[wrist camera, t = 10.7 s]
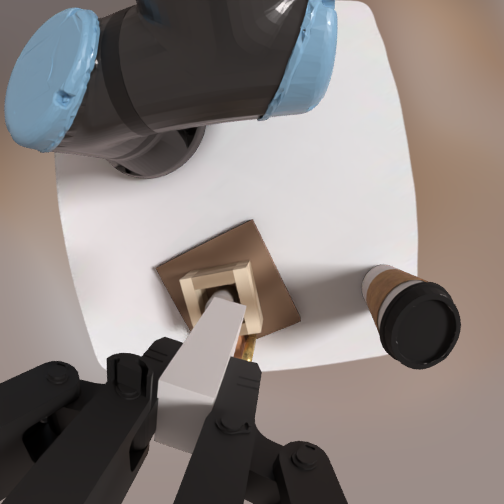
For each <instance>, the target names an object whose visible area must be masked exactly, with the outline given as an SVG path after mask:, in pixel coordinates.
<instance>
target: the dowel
mask: <svg viewBox="0 0 504 504" xmlns="http://www.w3.org/2000/svg"><path fill="white" fill-rule="evenodd" d="M256 338H257V335H256V334H248V337H247V340H246V344H245V348H244V351H243V355H242V359H243V360H247V361H250V362H252V357H253V352H254V348H255V343H256Z"/></svg>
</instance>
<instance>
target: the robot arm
mask: <svg viewBox="0 0 504 504" xmlns="http://www.w3.org/2000/svg"><path fill="white" fill-rule="evenodd" d="M136 3H137V4H136V5H134V6H131V7H128V8H126V9H123V10H120V11H118V12H115V13H113V14H110V15H108V16H106V17H103V18H98V17H97V15H96V14H95V13H93V11H91V10H82V9H80V8H69V9H66V10H64V11H61V12H59V13H57V14H56V15H54V16H53V17H51V18H50V19H49V20H47V21H46V22H45V23H44V24H43V25H42V26H41V27H40V28H39V29H38V30H37V31H36V32H35V34H34V35H33V36H32V37H31V38H30V40H29V41H28V43H27V44H26V46H25V47H24V49H23V51H22V52H21V54H20V56H19V58H18V60H17V62H16V64H15V66H14V68H13V71H12V73H11V77H10V79H9V83H8V87H7V91H6V97H5V122H6V126H7V129H8V131H9V132H10V134H11V136H12V138H13V140H14V141H15V142H16V143H17V144H19V145H21V146H23V147H27V148H32V149H36V150H38V151H40V152H42V153H44V152H59V153H68V154H76V155H84V156H92V157H99V158H105V159H106V160H107V161H108V162H109V163H110V164H112V165H113V166H114V167H115V168H116V169H117V170H119V171H120V172H122V173H124V174H127V175H129V176H133V177H140V178H156V177H161V176H164V175H167V174H169V173H171V172H173V171H175V170H176V169H178V168H179V167H181V166H182V165H183V164H184V163H186V162H187V161H188V160H189V159H190V157H191V156H192V155H193V154H194V152H195V151H196V150H197V148H198V146H199V144H200V142H201V140H202V138H203V135H204V132H205V127H206V125H211V124H218V123H226V122H234V121H242V120H252V119H257V120H258V121H264V120H267V119H268V118H269V117H276V116H285V115H295V114H303V113H306V112H308V111H310V110H312V109H313V108H314V107H315V106H317V105H318V104H319V102H320V101H321V99H322V98H323V97H324V95H325V93H326V91H327V88H328V85H329V82H330V79H331V75H332V71H333V66H334V61H335V54H336V44H337V13H336V11H335V10H334V8H335V0H136ZM245 310H246V305H242V304H238V303H235V302H231V301H227V300H224V299H220V298H217V297H214V298H213V300H212V301H211V303H210V304H209V306H208V307H207V309H206V310H205V312H204V313H203V315H202V316H201V318H200V319H199V321H198V322H197V324H196V325H195V327H194V328H193V329H192V331H191V332H190V334H189V335H188V337H187V338H186V340H185V341H184V343H182V342H179V341H176V340H173V339H170V338H167V337H163V338H161V339H159V340H156V341H154V343H153V344H152V345H151V346H150V347H149V348H148V350H147V351H146V352H145V353H144V354H143V356H139V355H135V354H131V353H119V354H114V355H112V356H110V357H108V358H107V382H106V384H98V383H93V382H88V381H84V380H80V379H79V375H78V372H77V370H76V369H75V368H74V367H73V366H71V365H70V364H68V363H64V362H61V361H51V362H48V363H44V364H42V365H40V366H37V367H35V368H33V369H31V370H29V371H27V372H24V373H22V374H20V375H18V376H16V377H13V378H11V379H9V380H7V381H5V382H3V383H0V501H1V500H2V499H4V498H5V500H4V501H3V502H2V503H1V504H121V503H122V501H123V499H124V498H125V496H126V494H127V492H128V490H129V488H130V486H131V484H132V483H133V481H134V479H135V477H136V475H137V473H138V471H139V469H140V467H141V465H142V464H143V461H144V460H145V458H146V456H147V454H148V451H149V442H150V440H151V438H152V436H153V434H154V433H155V437H154V441H156V442H159V443H162V444H165V445H167V446H170V447H173V448H176V449H179V450H182V451H185V452H188V453H191V454H192V456H191V459H190V461H189V464H188V467H187V469H186V472H185V474H184V477H183V480H182V482H181V485H180V488H179V490H178V493H177V495H176V498H175V500H174V503H173V504H243V503H244V499H245V500H247V501H249V502H251V503H253V504H348V503H347V500H346V498H345V496H344V494H343V491H342V489H341V486H340V484H339V482H338V479H337V477H336V474H335V472H334V470H333V467H332V465H331V463H330V460H329V458H328V456H327V455H326V453H325V452H324V451H323V450H322V449H321V448H319V447H318V446H317V445H314V444H311V443H309V442H303V441H295V442H290V443H288V444H287V445H285V446H282V445H280V444H277V443H275V442H273V441H271V440H269V439H267V438H266V437H264V436H263V435H262V434H261V433H260V432H259V430H258V429H257V427H256V425H255V413H256V405H257V400H258V393H259V386H260V380H261V373H262V372H261V370H260V368H259V366H258V364H257V363H254V362H250V361H247V360H243V359H239V358H235V357H233V356H234V352H235V349H236V345H237V341H238V337H239V333H240V329H241V326H242V322H243V318H244V314H245Z"/></svg>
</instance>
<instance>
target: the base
mask: <svg viewBox="0 0 504 504" xmlns="http://www.w3.org/2000/svg"><path fill="white" fill-rule="evenodd" d="M247 260H250V262H251V267H252V271H253V276H254V280H255V284H256V289H257V293H258V298H259V302H260V307H261V311H262V316H263V323H262V329H261V333H255V334H256V335H257V338H256V339H258V338H260V337H263V336H265V335H268V334H271V333H273V332H276V331H278V330H281V329H283V328H285V327H288V326H290V325H293V324H295V323H298V322H300V321H301V318H300V316H299V314H298V311H297V309H296V307H295V305H294V303H293V301H292V299H291V297H290V295H289V293H288V291H287V288H286V286H285V284H284V282H283V280H282V278H281V276H280V274H279V272H278V270H277V268H276V266H275V264H274V262H273V260H272V257H271V255H270V253H269V251H268V249H267V247H266V245H265V243H264V241H263V239H262V237H261V235H260V233H259V231H258V229H257V227H256V225H255V223H254V221H253V219H252V220H250V221H248V222H246V223H244V224H242V225H240V226H238V227H236V228H234V229H232V230H230V231H228V232H226V233H224V234H222V235H220V236H218V237H216V238H214V239H212V240H210V241H208V242H206V243H204V244H202V245H200V246H198V247H196V248H194V249H192V250H190V251H188V252H186V253H184V254H182V255H180V256H178V257H176V258H174V259H172V260H170V261H168V262H166V263H165V264H163V265H161V266H159V267H157V268H156V270H157V271H158V273H159V275H160V277H161V279H162V281H163V283H164V285H165V287H166V288H167V290H168V292H169V294H170V296H171V298H172V299H173V301H174V303H175V305H176V307H177V308H178V310H179V312H180V314H181V316H182V317H183V319H184V321H185V322H186V324H187V326H188V328H189V329H190V331H192V329H193V325H192V322H191V319H190V315H189V312H188V309H187V305H186V302H185V298H184V295H183V291H182V288H181V284H180V279H181V278H182V277H184V276H185V275H186V274H187V273H188V272H190V271H194V270H200V269H205V268H210V267H216V266H221V265H226V264H231V263H237V262H242V261H247ZM205 289H206V293H207V296H208V300H209V301H208V302H207V303H206V306H205V310H206V309H207V307H208V306H209V304H210V303H211V301H212V300H213V298H214V297H217V298H220V299H224V300H227V301H231V302H235V303H238V304H241V303H240V298H239V294H238V290H237V286H236V283H233V284H227V285H222V286H216V287H210V288H205ZM244 337H245V341H246V340H247V337H248V335H244Z"/></svg>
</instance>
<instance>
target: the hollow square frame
mask: <svg viewBox="0 0 504 504" xmlns="http://www.w3.org/2000/svg"><path fill="white" fill-rule="evenodd" d="M233 283H236V286H237V290H238V294H239V298H240V303H241V304H242V305H246V310H245V314H244V318H243V322H242V326H241V329H240V333H239V337H238V341H237V345H236V349H235V352H234V356H233V357H235V358H239V359H242V355H243V351H244V348H245V344H246V341H245V337H244V335H248V334H255V333H261V329H262V323H263V316H262V311H261V307H260V302H259V298H258V293H257V289H256V284H255V280H254V276H253V271H252V267H251V262H250V260H247V261H242V262H237V263H231V264H226V265H221V266H216V267H210V268H205V269H200V270H194V271H190V272H188V273H187V274H186V275H185V276H184V277H182V278H181V279H180V284H181V288H182V291H183V295H184V298H185V302H186V305H187V309H188V312H189V315H190V319H191V322H192V325H193V328H194V327H195V325H196V324H197V322H198V321H199V319H200V318H201V316H202V315H203V313H204V312H205V306H206V303H207V302H208V301H209V300H208V296H207V293H206V289H205V288H210V287H216V286H222V285H227V284H233Z"/></svg>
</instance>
